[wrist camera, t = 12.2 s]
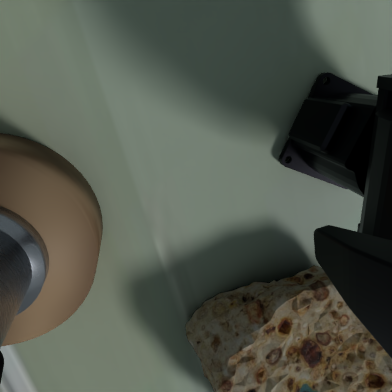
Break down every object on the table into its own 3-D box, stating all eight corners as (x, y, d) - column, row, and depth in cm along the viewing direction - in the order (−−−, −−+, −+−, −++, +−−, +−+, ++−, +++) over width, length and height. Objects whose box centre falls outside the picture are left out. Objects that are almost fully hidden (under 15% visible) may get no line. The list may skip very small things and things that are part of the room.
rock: (153, 322, 26) (190, 418, 17) (278, 220, 29) (368, 254, 20) (262, 452, 33) (332, 573, 23) (356, 358, 35) (453, 433, 26)
